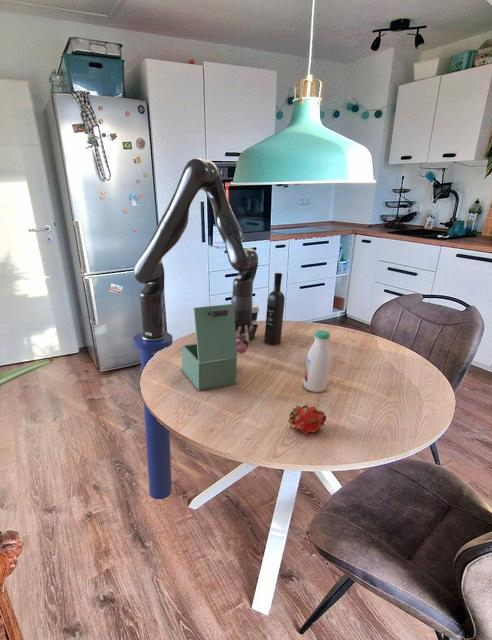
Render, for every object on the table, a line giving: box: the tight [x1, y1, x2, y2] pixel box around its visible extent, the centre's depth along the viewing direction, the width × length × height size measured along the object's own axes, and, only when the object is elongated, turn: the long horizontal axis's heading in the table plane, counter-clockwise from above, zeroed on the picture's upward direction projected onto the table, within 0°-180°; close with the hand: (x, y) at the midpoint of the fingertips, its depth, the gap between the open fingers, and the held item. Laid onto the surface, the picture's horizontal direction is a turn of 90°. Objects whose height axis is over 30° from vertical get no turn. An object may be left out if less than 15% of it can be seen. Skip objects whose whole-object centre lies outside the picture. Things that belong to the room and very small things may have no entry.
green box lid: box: [193, 303, 238, 363], centre depth 122 cm, size 17×14×5 cm
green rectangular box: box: [181, 342, 238, 392], centre depth 135 cm, size 17×14×10 cm
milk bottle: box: [303, 329, 332, 393], centre depth 128 cm, size 8×8×20 cm
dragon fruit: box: [288, 404, 327, 437], centre depth 107 cm, size 8×8×12 cm
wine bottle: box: [263, 272, 286, 346], centre depth 163 cm, size 6×6×30 cm
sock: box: [236, 338, 248, 355], centre depth 144 cm, size 8×4×4 cm, turn 25°
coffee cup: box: [238, 302, 260, 341], centre depth 170 cm, size 10×10×15 cm
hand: (238, 350), depth 145 cm, fingers closed on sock, 4 cm apart
